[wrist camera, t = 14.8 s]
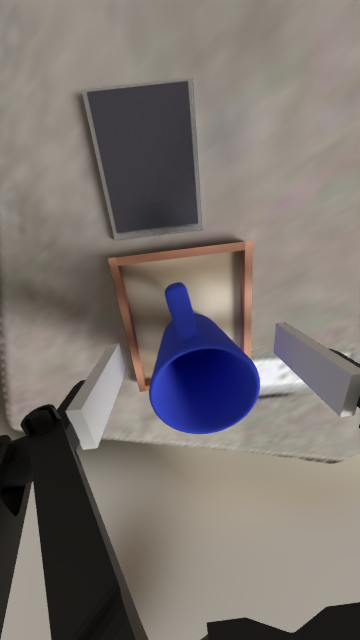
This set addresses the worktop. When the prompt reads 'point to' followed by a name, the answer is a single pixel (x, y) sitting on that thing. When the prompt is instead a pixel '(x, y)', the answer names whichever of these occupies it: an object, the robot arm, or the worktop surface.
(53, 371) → the worktop surface
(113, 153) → the ink pad
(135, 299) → the sand box
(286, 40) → the worktop surface
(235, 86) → the worktop surface
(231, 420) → the mug
